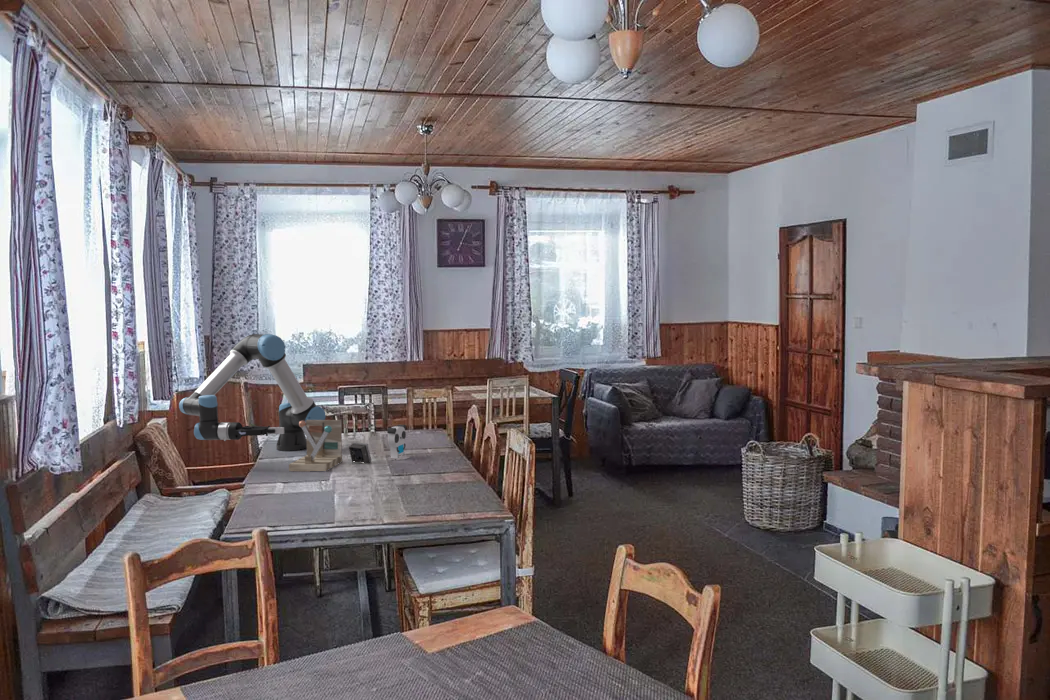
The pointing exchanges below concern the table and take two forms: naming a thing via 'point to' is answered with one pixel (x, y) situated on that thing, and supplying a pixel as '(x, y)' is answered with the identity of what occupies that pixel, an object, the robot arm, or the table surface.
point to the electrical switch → (359, 452)
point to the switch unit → (329, 449)
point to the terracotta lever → (308, 434)
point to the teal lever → (320, 442)
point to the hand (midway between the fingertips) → (283, 430)
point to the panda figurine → (396, 440)
